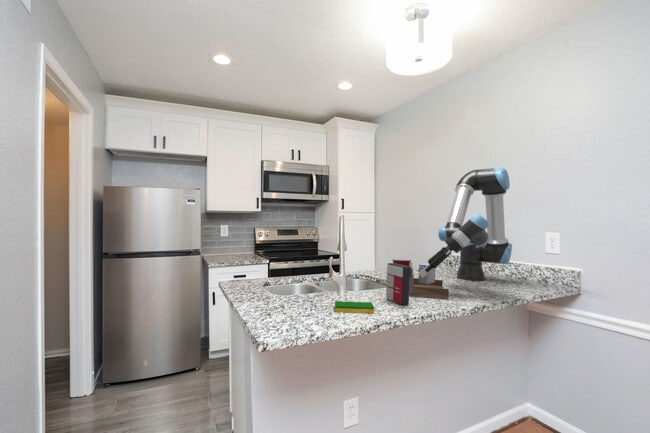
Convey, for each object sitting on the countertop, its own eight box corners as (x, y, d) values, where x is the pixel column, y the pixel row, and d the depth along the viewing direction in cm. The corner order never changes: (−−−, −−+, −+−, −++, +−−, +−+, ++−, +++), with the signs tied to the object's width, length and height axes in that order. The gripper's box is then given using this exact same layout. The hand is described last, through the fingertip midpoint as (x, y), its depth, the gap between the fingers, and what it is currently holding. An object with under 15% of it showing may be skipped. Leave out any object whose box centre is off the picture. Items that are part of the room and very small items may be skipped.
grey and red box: (384, 298, 128) (385, 263, 128) (393, 298, 129) (394, 262, 130) (401, 305, 118) (402, 267, 118) (410, 304, 119) (411, 266, 120)
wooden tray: (408, 285, 155) (409, 262, 155) (442, 288, 151) (442, 264, 151) (409, 295, 134) (410, 268, 134) (448, 299, 130) (448, 271, 130)
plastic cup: (409, 278, 176) (409, 257, 176) (412, 282, 165) (413, 260, 165) (390, 277, 177) (390, 257, 177) (392, 281, 166) (393, 259, 166)
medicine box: (426, 281, 147) (426, 263, 147) (435, 282, 144) (435, 264, 144) (418, 282, 141) (418, 264, 141) (427, 284, 138) (427, 265, 138)
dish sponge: (334, 307, 115) (335, 300, 115) (371, 308, 114) (371, 302, 114) (334, 313, 108) (335, 306, 108) (374, 314, 107) (374, 307, 107)
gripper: (467, 249, 128) (427, 284, 132) (459, 246, 149) (424, 276, 153) (454, 236, 130) (414, 271, 134) (447, 234, 151) (413, 265, 154)
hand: (419, 274), depth 143 cm, fingers closed on medicine box, 9 cm apart
